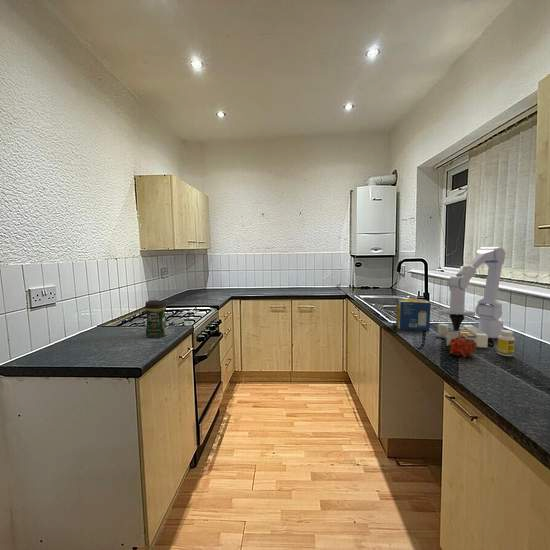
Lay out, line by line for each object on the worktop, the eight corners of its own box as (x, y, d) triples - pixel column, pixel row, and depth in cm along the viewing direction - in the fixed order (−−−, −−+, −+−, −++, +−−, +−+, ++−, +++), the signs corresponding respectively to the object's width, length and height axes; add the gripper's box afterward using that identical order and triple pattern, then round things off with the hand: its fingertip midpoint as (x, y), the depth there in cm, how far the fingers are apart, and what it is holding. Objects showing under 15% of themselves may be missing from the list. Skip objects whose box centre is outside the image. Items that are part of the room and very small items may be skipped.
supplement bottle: (509, 357, 123) (510, 333, 122) (494, 353, 127) (495, 330, 127) (516, 355, 125) (517, 331, 124) (501, 351, 130) (502, 328, 129)
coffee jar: (143, 338, 153) (142, 301, 151) (150, 334, 161) (149, 299, 159) (162, 338, 152) (161, 301, 151) (169, 334, 160) (167, 299, 159)
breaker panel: (471, 336, 152) (472, 325, 152) (487, 347, 135) (487, 334, 134) (455, 335, 154) (456, 324, 154) (468, 346, 137) (469, 333, 136)
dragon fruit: (479, 360, 124) (449, 364, 125) (468, 343, 130) (439, 347, 131) (485, 348, 118) (453, 352, 119) (473, 330, 125) (443, 334, 126)
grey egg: (456, 344, 139) (456, 331, 139) (459, 347, 135) (459, 334, 135) (445, 344, 140) (445, 331, 140) (448, 346, 136) (448, 333, 136)
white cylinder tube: (446, 335, 154) (446, 323, 153) (449, 338, 149) (449, 326, 149) (436, 335, 155) (437, 323, 154) (439, 337, 151) (439, 325, 150)
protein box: (395, 325, 176) (396, 298, 174) (424, 326, 173) (425, 299, 171) (399, 329, 165) (399, 301, 164) (430, 331, 162) (431, 302, 161)
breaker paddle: (468, 334, 144) (468, 332, 144) (470, 335, 141) (470, 333, 141) (459, 333, 144) (460, 331, 144) (461, 335, 142) (461, 332, 142)
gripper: (442, 302, 140) (441, 331, 142) (478, 303, 137) (476, 333, 138) (438, 300, 147) (437, 327, 148) (472, 301, 144) (470, 329, 145)
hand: (456, 330), depth 144 cm, fingers closed
